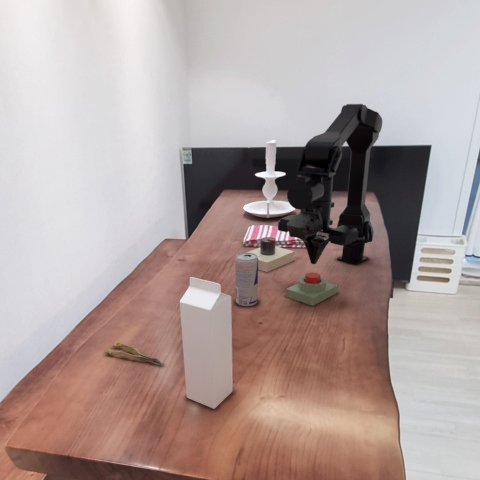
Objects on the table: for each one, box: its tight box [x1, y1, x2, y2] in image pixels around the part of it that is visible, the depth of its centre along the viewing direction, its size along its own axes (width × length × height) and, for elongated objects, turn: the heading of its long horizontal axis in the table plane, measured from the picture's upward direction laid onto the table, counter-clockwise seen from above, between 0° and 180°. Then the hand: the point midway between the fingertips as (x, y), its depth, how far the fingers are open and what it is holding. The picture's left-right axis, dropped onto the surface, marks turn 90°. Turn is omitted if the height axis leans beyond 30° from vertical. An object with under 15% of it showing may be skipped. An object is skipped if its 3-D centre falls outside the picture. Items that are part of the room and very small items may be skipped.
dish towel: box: [242, 224, 306, 249], centre depth 155 cm, size 17×23×4 cm
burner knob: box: [259, 237, 276, 255], centre depth 136 cm, size 4×4×4 cm
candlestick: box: [242, 139, 296, 219], centre depth 175 cm, size 21×25×28 cm
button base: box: [285, 275, 338, 307], centre depth 116 cm, size 10×8×4 cm
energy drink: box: [234, 252, 259, 307], centre depth 112 cm, size 5×5×12 cm
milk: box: [179, 276, 234, 410], centre depth 77 cm, size 6×6×22 cm
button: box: [304, 271, 321, 284], centre depth 115 cm, size 4×4×2 cm
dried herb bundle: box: [105, 342, 162, 366], centre depth 95 cm, size 4×13×2 cm, turn 63°
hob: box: [245, 247, 295, 273], centre depth 137 cm, size 12×10×3 cm
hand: (313, 263), depth 113 cm, fingers closed
